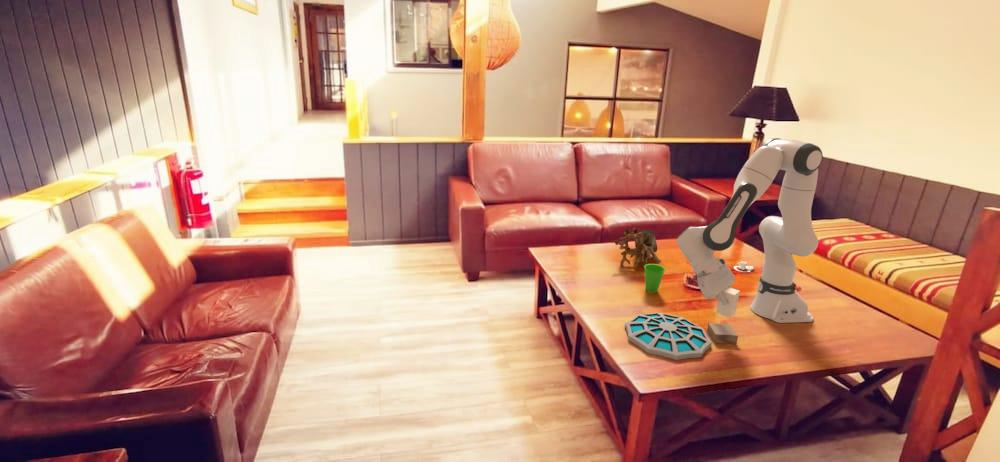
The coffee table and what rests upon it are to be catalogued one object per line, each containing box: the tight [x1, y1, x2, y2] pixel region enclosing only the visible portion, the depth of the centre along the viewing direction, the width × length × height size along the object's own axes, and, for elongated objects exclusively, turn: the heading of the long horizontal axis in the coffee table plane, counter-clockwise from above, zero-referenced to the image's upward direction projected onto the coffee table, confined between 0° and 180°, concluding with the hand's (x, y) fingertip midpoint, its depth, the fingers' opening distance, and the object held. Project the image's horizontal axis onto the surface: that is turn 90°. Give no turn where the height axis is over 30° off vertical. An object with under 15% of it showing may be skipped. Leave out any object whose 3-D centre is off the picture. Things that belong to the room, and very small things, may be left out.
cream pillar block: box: [715, 287, 741, 318], centre depth 175 cm, size 5×5×9 cm
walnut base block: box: [706, 322, 739, 345], centre depth 179 cm, size 8×8×4 cm
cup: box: [643, 263, 666, 294], centre depth 215 cm, size 9×9×11 cm
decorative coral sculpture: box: [614, 227, 662, 269], centre depth 247 cm, size 24×22×29 cm
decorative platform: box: [624, 312, 713, 361], centre depth 179 cm, size 31×29×5 cm
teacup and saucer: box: [733, 260, 755, 273], centre depth 241 cm, size 9×8×4 cm
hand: (729, 301), depth 175 cm, fingers closed on cream pillar block, 5 cm apart
